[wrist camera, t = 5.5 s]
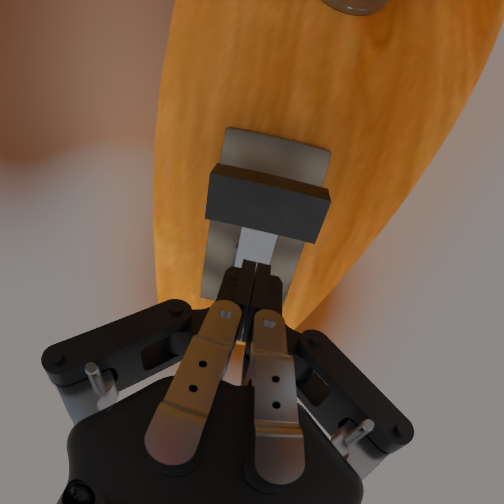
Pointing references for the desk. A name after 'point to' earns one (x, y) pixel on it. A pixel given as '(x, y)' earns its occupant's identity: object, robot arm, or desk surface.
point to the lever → (264, 209)
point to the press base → (272, 162)
